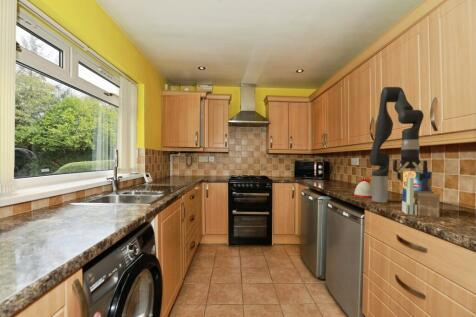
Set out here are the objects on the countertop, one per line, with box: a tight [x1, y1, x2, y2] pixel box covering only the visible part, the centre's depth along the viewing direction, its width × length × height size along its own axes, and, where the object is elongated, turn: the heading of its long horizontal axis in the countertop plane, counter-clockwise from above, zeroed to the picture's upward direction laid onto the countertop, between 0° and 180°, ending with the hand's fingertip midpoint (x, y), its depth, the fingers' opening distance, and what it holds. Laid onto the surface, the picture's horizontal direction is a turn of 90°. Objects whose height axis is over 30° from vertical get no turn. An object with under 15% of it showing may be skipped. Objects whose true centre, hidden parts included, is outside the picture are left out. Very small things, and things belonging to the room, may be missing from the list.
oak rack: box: [413, 191, 440, 218], centre depth 119 cm, size 9×8×12 cm
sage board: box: [406, 177, 414, 216], centre depth 120 cm, size 6×2×18 cm, turn 156°
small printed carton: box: [401, 200, 418, 216], centre depth 122 cm, size 10×4×6 cm, turn 155°
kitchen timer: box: [353, 176, 372, 199], centre depth 181 cm, size 14×14×15 cm
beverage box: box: [402, 170, 433, 202], centre depth 130 cm, size 7×11×22 cm, turn 11°
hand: (409, 180), depth 122 cm, fingers open, 8 cm apart
